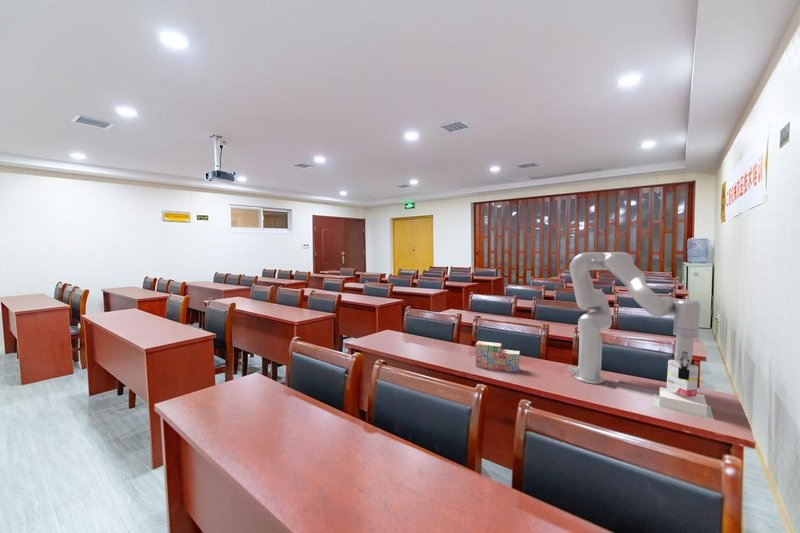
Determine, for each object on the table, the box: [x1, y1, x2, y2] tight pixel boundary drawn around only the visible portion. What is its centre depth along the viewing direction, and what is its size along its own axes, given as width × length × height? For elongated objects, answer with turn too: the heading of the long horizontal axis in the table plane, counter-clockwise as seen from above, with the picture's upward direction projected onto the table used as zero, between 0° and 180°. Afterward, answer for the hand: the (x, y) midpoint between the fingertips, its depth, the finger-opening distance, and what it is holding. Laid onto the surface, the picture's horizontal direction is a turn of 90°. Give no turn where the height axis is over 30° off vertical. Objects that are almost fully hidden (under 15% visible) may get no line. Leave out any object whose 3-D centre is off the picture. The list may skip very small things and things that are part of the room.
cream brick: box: [658, 386, 708, 418], centre depth 139 cm, size 14×12×4 cm
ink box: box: [666, 359, 699, 397], centre depth 139 cm, size 9×5×12 cm, turn 10°
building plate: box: [652, 393, 715, 421], centre depth 139 cm, size 18×14×1 cm
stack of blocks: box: [475, 340, 521, 373], centre depth 183 cm, size 21×6×12 cm, turn 68°
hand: (682, 375), depth 139 cm, fingers closed on ink box, 9 cm apart
